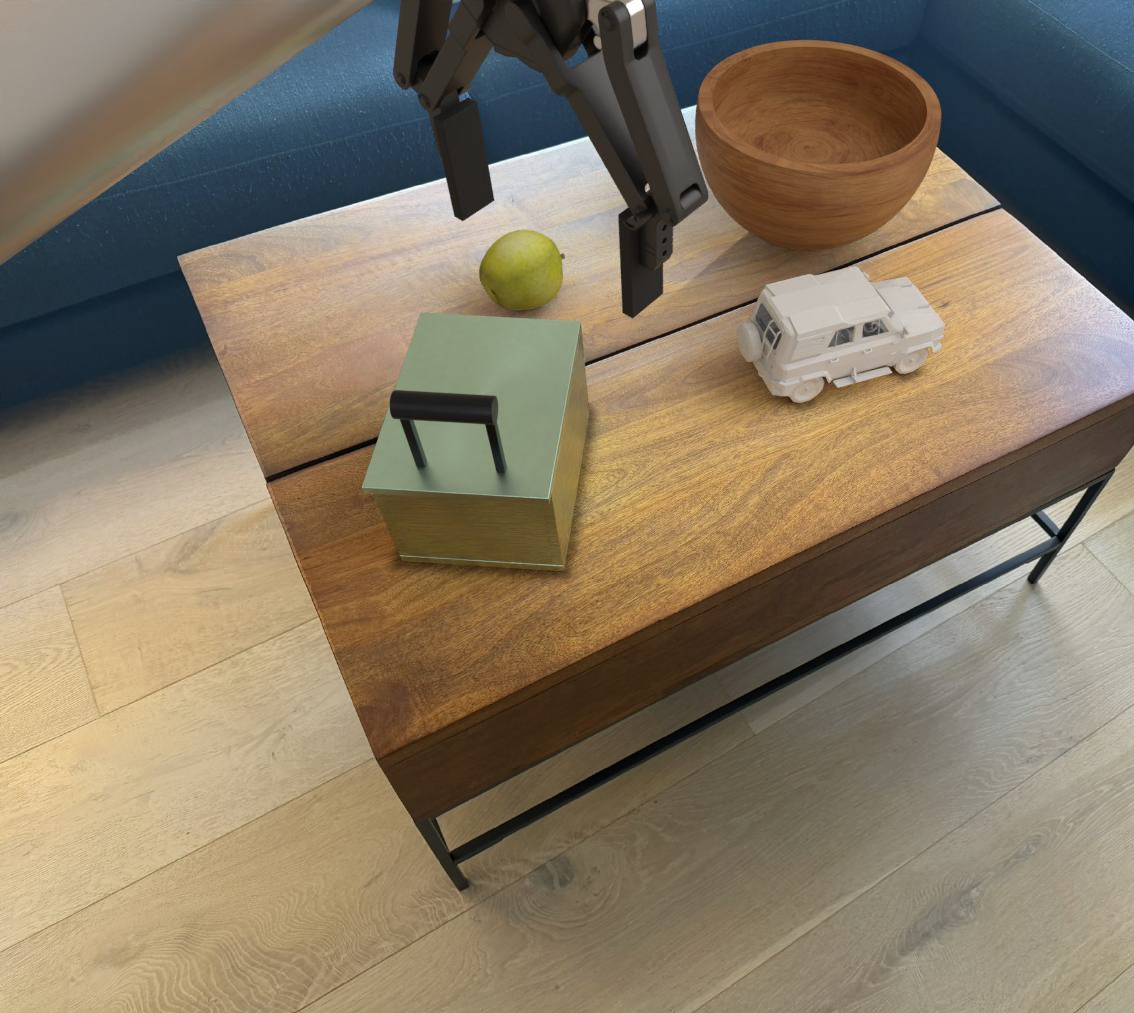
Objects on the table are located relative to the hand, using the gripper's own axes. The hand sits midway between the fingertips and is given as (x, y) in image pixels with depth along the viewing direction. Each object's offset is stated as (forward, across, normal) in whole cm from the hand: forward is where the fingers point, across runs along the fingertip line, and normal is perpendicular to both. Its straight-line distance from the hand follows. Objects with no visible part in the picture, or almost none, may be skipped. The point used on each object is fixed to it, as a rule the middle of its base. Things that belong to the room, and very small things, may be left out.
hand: (555, 254), depth 53 cm
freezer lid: (+19, +10, +1) cm, 21 cm away
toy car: (+30, -5, -31) cm, 44 cm away
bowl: (+30, +10, -47) cm, 57 cm away
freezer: (+30, +10, +1) cm, 31 cm away
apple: (+30, +25, -18) cm, 43 cm away
